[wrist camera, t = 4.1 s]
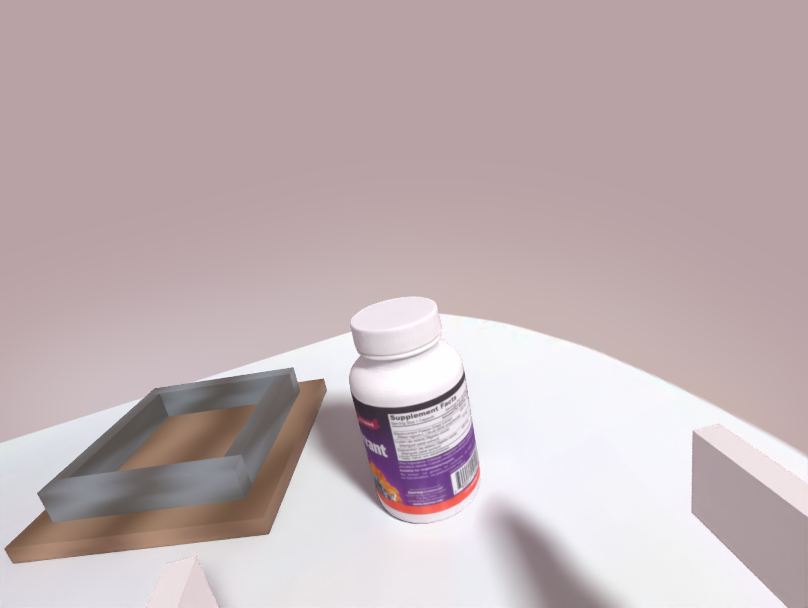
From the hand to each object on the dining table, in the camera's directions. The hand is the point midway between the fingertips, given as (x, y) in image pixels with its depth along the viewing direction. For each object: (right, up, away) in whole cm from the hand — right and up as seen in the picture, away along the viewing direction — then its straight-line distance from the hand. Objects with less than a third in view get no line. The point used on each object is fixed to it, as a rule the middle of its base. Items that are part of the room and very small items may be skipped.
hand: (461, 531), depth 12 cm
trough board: (-15, -4, +18) cm, 23 cm away
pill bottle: (0, -4, +12) cm, 12 cm away
